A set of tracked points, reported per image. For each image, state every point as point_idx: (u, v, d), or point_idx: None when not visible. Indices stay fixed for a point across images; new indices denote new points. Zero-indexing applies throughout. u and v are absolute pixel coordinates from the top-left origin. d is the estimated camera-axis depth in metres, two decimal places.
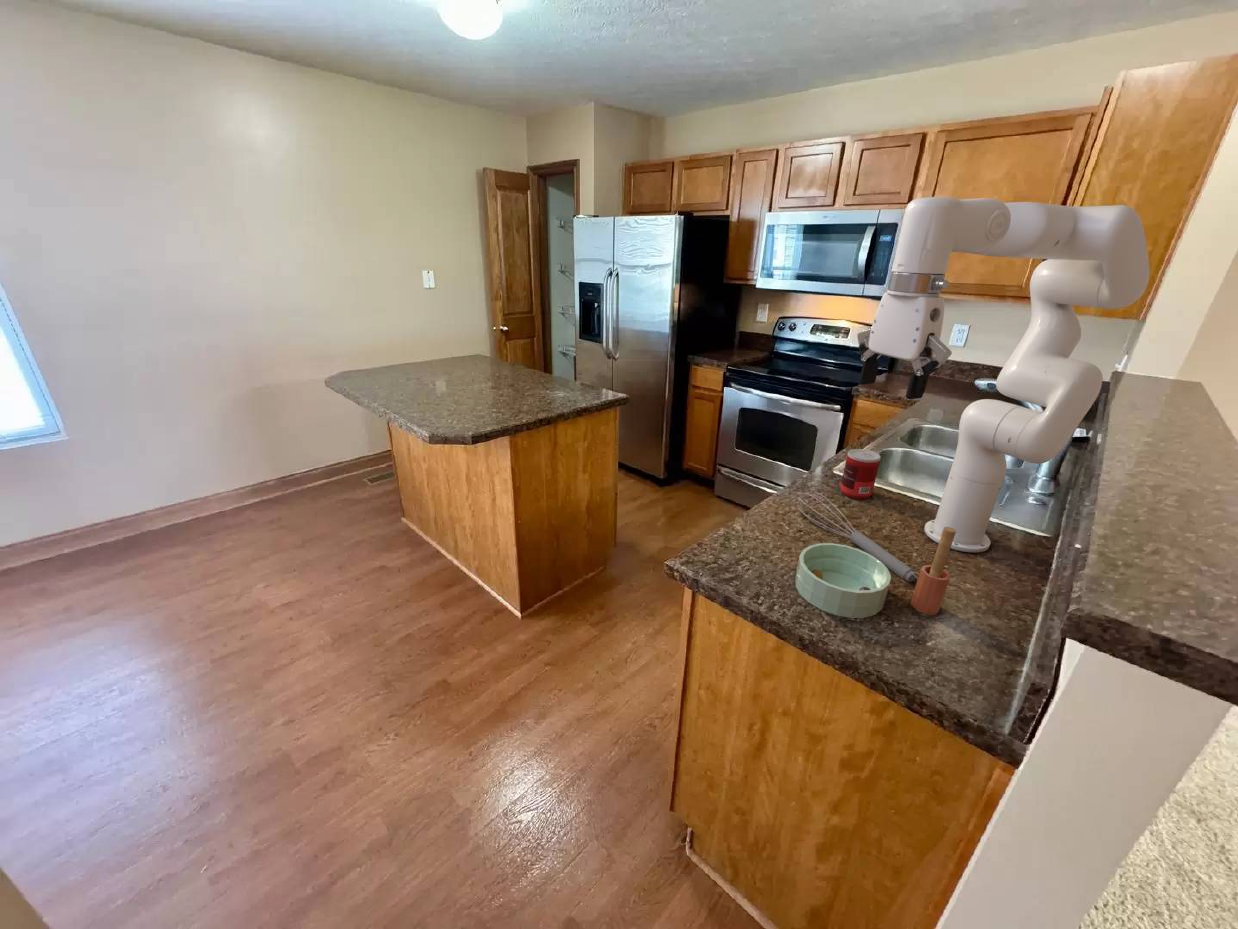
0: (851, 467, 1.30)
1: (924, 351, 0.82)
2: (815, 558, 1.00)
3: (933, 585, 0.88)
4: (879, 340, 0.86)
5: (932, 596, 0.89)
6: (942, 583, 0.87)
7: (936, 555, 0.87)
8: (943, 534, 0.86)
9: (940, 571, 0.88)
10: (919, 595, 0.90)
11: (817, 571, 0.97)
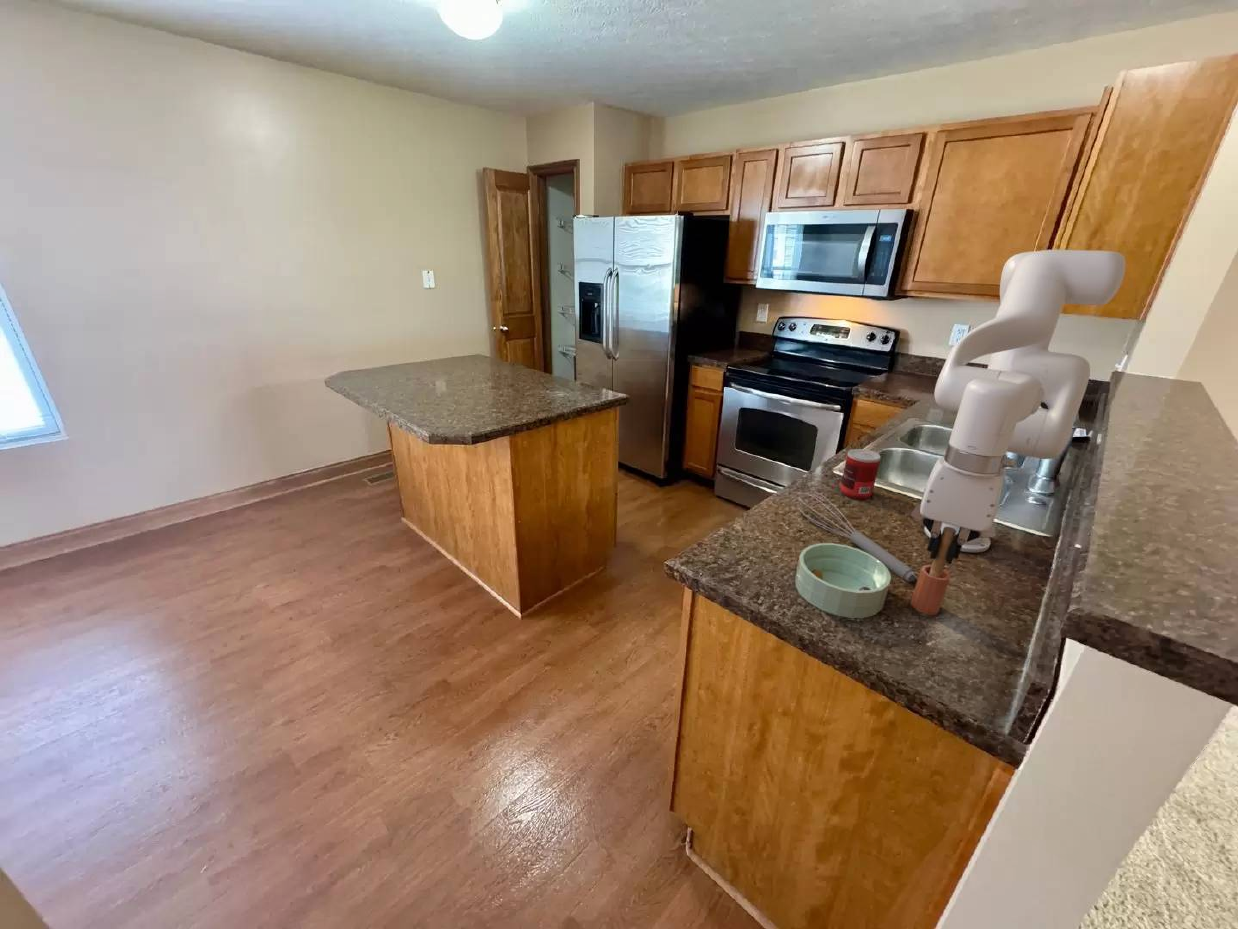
0: (851, 467, 1.30)
1: None
2: (815, 558, 1.00)
3: (933, 585, 0.88)
4: (939, 510, 0.83)
5: (932, 596, 0.89)
6: (942, 583, 0.87)
7: (936, 555, 0.87)
8: (943, 534, 0.86)
9: (940, 571, 0.88)
10: (919, 595, 0.90)
11: (817, 571, 0.97)
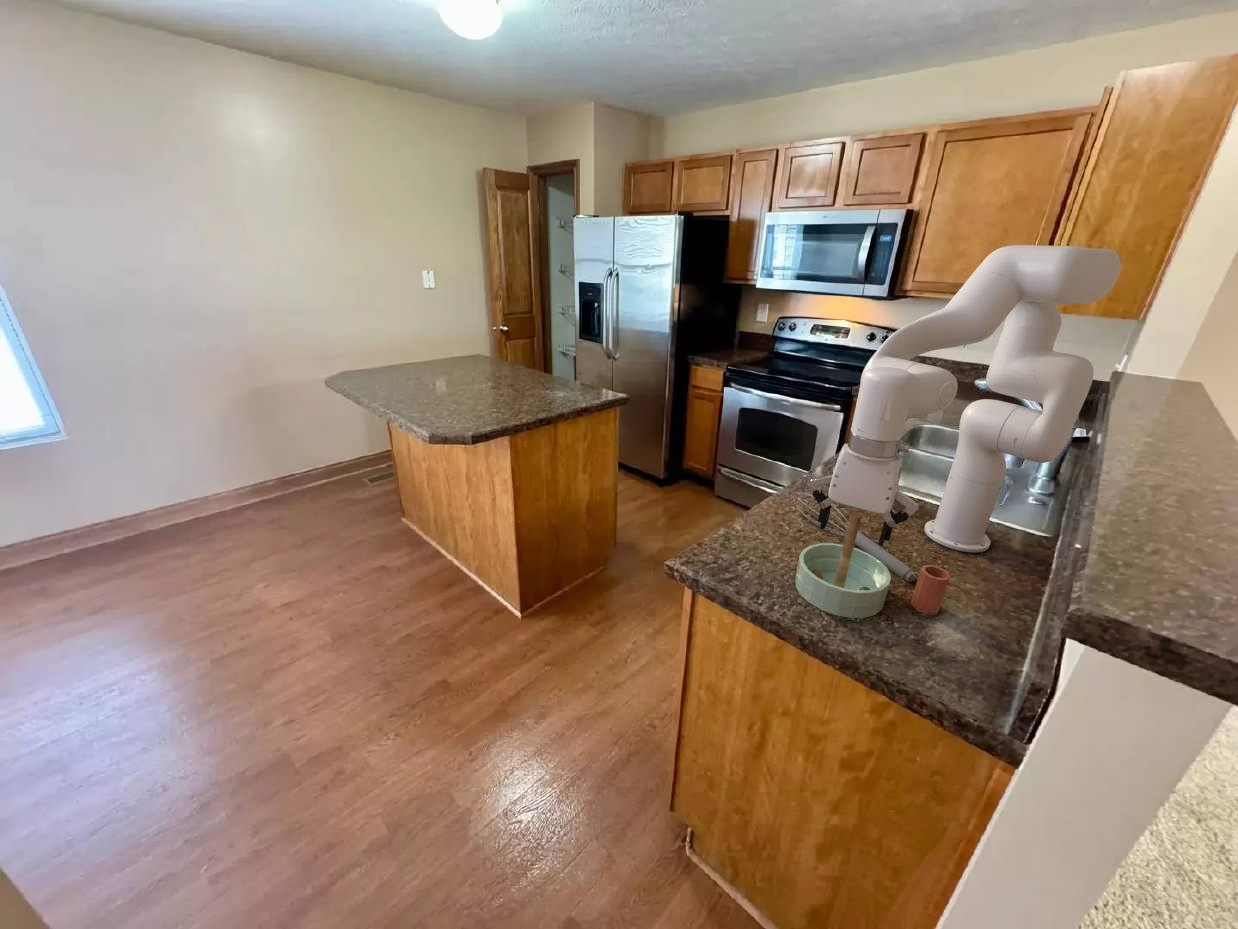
0: None
1: None
2: (815, 558, 1.00)
3: (933, 585, 0.88)
4: (844, 494, 0.87)
5: (932, 596, 0.89)
6: (942, 583, 0.87)
7: (844, 540, 0.91)
8: (849, 520, 0.89)
9: (848, 556, 0.91)
10: (919, 595, 0.90)
11: (817, 571, 0.97)
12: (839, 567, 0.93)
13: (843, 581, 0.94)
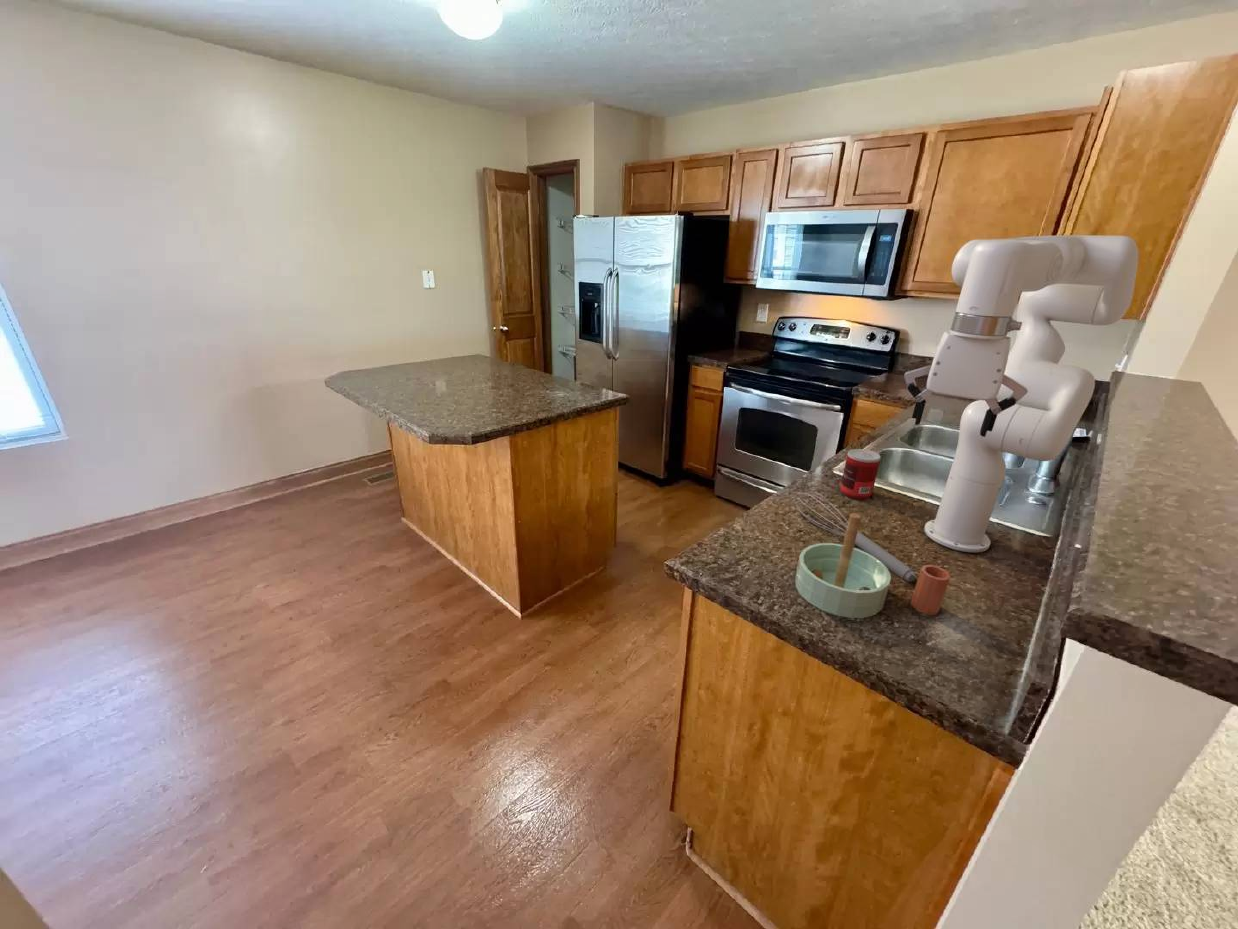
0: (851, 467, 1.30)
1: None
2: (815, 558, 1.00)
3: (933, 585, 0.88)
4: (946, 382, 0.84)
5: (932, 596, 0.89)
6: (942, 583, 0.87)
7: (844, 540, 0.91)
8: (849, 520, 0.89)
9: (848, 556, 0.91)
10: (919, 595, 0.90)
11: (817, 571, 0.97)
12: (839, 567, 0.93)
13: (843, 581, 0.94)
